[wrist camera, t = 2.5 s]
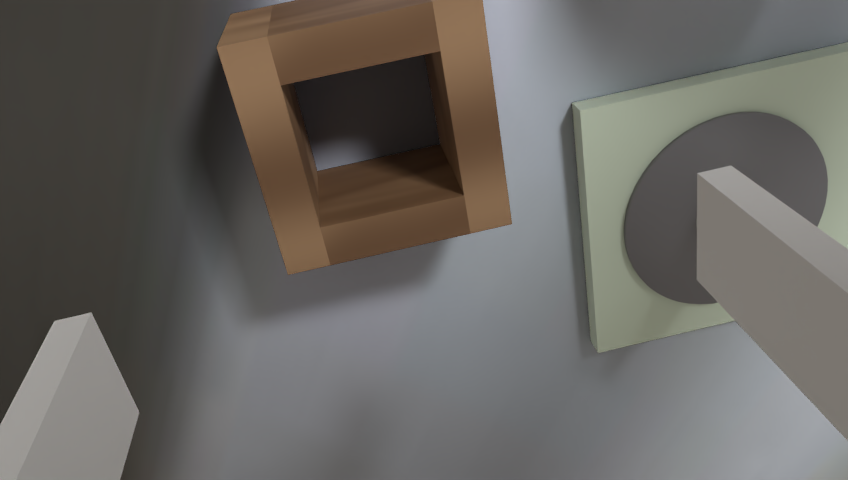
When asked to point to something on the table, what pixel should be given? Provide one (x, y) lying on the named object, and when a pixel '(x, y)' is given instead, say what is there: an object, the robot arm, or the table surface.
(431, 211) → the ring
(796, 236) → the robot arm
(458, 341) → the table surface
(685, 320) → the peg stand
